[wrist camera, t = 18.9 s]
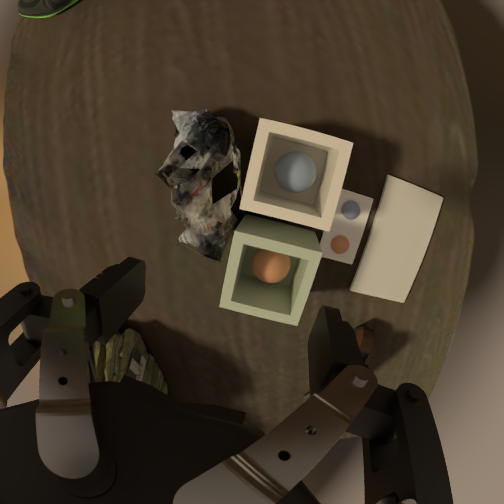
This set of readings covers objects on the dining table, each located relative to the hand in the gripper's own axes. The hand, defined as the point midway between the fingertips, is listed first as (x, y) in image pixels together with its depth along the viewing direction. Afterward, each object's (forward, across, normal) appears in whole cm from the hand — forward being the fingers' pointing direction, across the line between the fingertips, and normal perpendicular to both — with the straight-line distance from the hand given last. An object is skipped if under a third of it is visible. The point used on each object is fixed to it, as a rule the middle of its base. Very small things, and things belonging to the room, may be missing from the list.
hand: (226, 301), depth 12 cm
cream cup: (+23, -2, -4) cm, 24 cm away
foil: (+24, +8, -1) cm, 25 cm away
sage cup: (+23, -2, +7) cm, 24 cm away
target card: (+23, -10, +1) cm, 25 cm away
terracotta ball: (+20, -2, +7) cm, 21 cm away
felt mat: (+23, -18, +1) cm, 30 cm away
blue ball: (+20, -2, -4) cm, 21 cm away
